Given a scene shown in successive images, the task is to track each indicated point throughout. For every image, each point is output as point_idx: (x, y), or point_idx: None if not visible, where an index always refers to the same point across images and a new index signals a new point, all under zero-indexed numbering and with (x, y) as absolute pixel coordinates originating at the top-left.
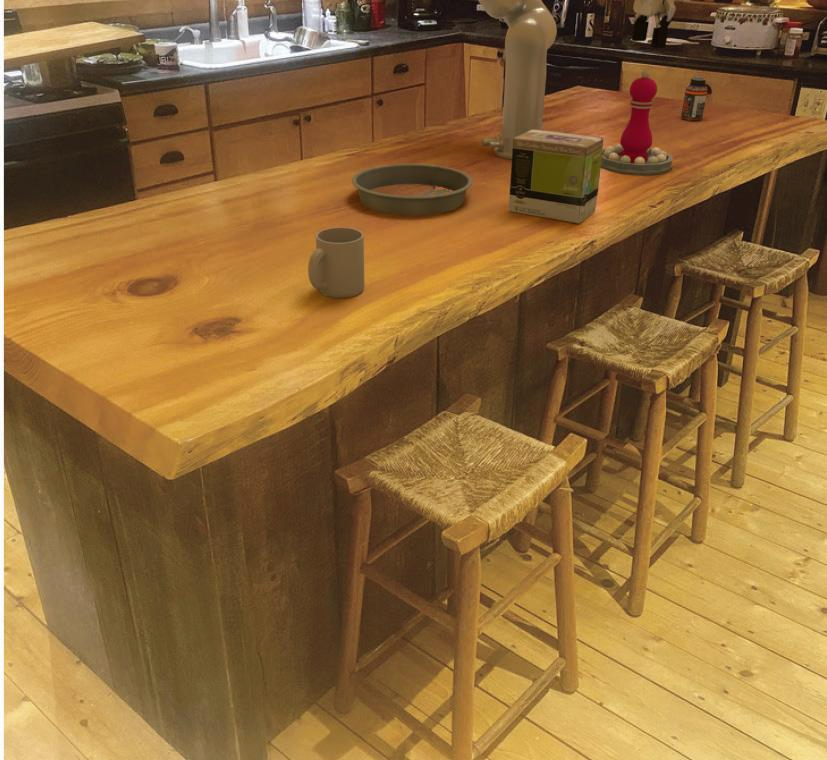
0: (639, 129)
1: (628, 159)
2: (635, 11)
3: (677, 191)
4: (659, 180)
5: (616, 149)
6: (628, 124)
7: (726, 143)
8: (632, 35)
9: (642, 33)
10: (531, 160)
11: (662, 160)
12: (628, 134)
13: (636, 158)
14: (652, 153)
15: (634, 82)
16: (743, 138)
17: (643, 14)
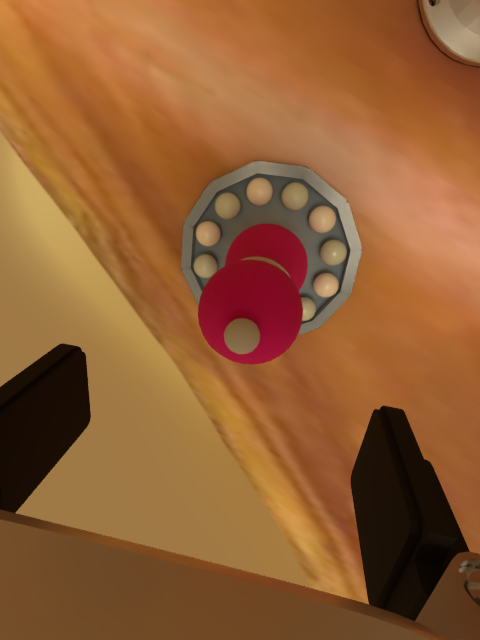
0: (233, 261)
1: (215, 208)
2: (373, 618)
3: (78, 231)
4: (152, 241)
5: (326, 242)
6: (270, 248)
7: (350, 511)
8: (408, 428)
9: (366, 495)
10: None
11: None
12: (250, 234)
13: (207, 226)
14: None
15: (250, 280)
16: None
17: (67, 532)
